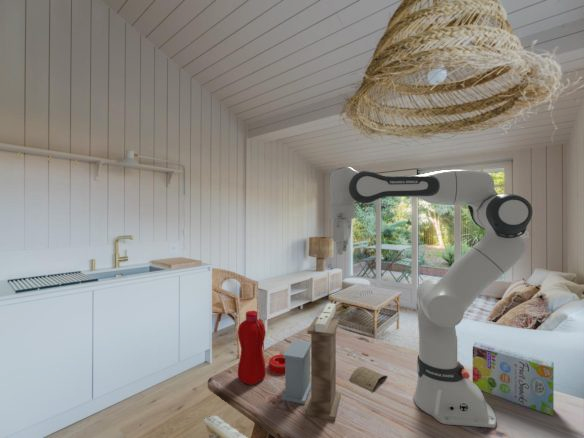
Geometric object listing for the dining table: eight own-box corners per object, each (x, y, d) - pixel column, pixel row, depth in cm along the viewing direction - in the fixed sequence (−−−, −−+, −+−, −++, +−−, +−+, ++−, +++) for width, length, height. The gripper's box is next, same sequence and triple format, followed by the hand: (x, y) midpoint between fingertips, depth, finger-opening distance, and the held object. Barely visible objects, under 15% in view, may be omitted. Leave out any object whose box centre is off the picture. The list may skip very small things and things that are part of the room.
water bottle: (254, 390, 98) (253, 319, 98) (234, 379, 105) (234, 312, 105) (272, 379, 105) (272, 312, 105) (252, 368, 112) (252, 306, 112)
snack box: (553, 408, 89) (553, 360, 89) (553, 417, 85) (553, 367, 85) (475, 381, 104) (475, 340, 104) (471, 388, 100) (471, 345, 99)
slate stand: (313, 383, 102) (313, 342, 102) (304, 404, 91) (304, 358, 91) (292, 379, 105) (292, 339, 105) (281, 399, 93) (281, 354, 93)
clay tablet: (372, 394, 97) (372, 386, 97) (346, 383, 103) (346, 376, 103) (389, 377, 107) (389, 370, 107) (364, 367, 114) (364, 361, 114)
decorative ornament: (296, 364, 116) (296, 357, 116) (286, 376, 107) (286, 368, 107) (276, 359, 120) (276, 352, 120) (264, 370, 111) (264, 362, 111)
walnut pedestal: (340, 396, 95) (340, 319, 95) (335, 421, 83) (335, 333, 83) (314, 391, 98) (314, 316, 97) (305, 414, 86) (305, 330, 86)
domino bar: (335, 310, 104) (335, 303, 104) (325, 332, 84) (325, 324, 84) (327, 309, 105) (327, 302, 105) (315, 331, 85) (315, 323, 85)
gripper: (347, 213, 89) (347, 256, 89) (353, 213, 108) (353, 249, 108) (327, 213, 91) (328, 256, 91) (337, 214, 110) (337, 249, 110)
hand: (342, 252), depth 100 cm, fingers open, 8 cm apart
